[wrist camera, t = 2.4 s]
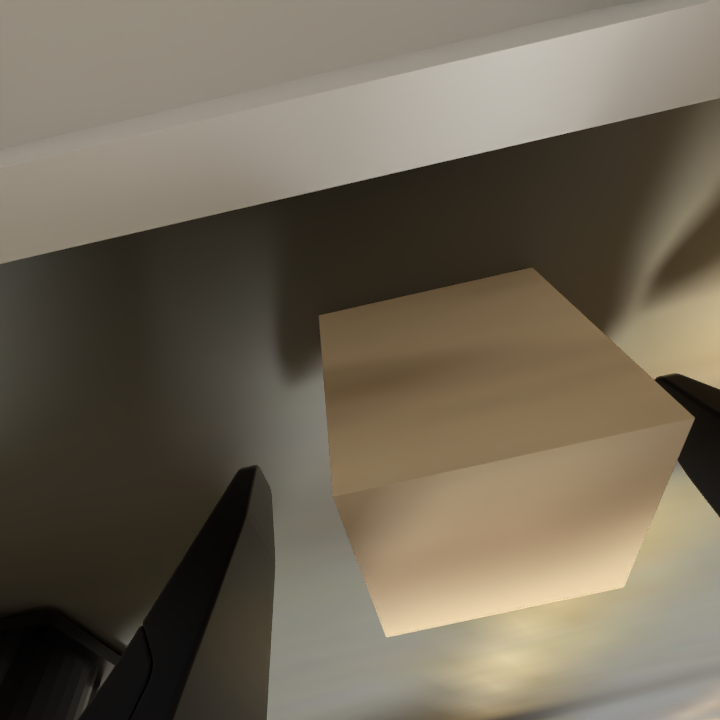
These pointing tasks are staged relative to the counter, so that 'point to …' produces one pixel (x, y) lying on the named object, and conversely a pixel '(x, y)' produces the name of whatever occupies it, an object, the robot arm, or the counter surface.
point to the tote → (304, 96)
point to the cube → (490, 449)
